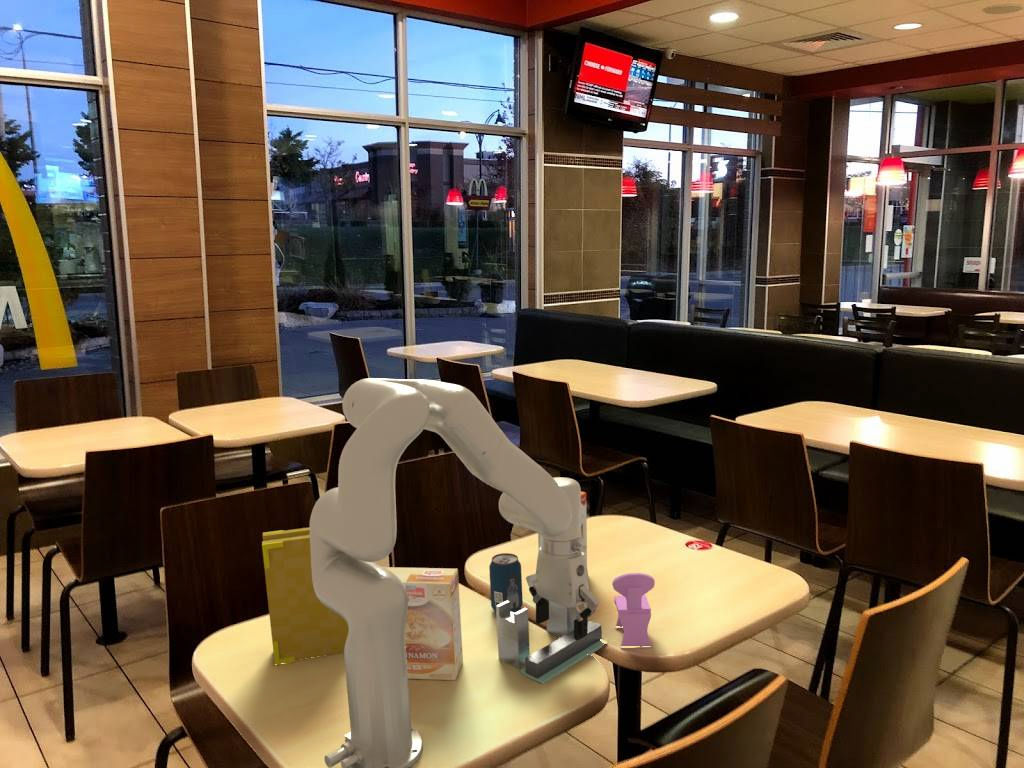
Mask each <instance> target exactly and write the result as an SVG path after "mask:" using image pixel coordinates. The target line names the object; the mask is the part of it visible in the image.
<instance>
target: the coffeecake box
mask: <svg viewBox="0 0 1024 768" xmlns="http://www.w3.org/2000/svg"><path fill="white" fill-rule="evenodd" d="M383 567H384V568H386V569H387V570H389V571H391V572H392V573H393V574H395V575H396V576H397V577H398V578H399V579H400V580H401V582H402V583H403V585H404V586H405V588H406V591H407V595H408V610H407V617H406V626H405V647H406V661H407V674H408V680H437V681H438V680H439V681H456V680H457V678H458V675H459V672H460V670H461V668H462V664H463V662H464V658H463V657H464V654H463V639H462V636H463V635H462V620H461V603H460V585H459V584H460V583H459V569H458V568H443V567H441V568H440V567H438V568H437V567H436V568H435V567H431V568H430V567H395V566H391V567H390V566H383Z"/></svg>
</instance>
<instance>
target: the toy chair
mask: <svg viewBox="0 0 1024 768" xmlns="http://www.w3.org/2000/svg"><path fill="white" fill-rule="evenodd" d="M655 583H656V582H655V578H654V577H653V576H651V575H649V574H646V573H643V572H632V573H630V572H629V573H625V574H624V573H623V574H620V575H618V576H617V577H614V579H613V580H612V583H611V585H612V588H613V590H614V591H615V592H616V593H618V595H614V596H613V597H614V600H613V601H614V604H615V606H616V610H617V615H618V617H617V620H616V624H615V626H620V627H622V626H623V629H622V630H623V638H622V641H621V643H620V646H640V647H642V646H652V647H653V645H652V643H651V640H650V638H649V633H648V628H649V624H650V620H651V617H652V612H651V611H652V609H651V608H652V607H651V605H650V604H649V601H648V598H647V595H646V594H647V593H648V592H650V591H652V590H653V589H654V588H655Z"/></svg>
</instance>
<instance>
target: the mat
mask: <svg viewBox="0 0 1024 768" xmlns="http://www.w3.org/2000/svg"><path fill="white" fill-rule="evenodd" d="M603 644H604V643H602V642H601V641H598V642H596V643H595V644H593V645H592V646H590V647H588V648H587V649H585V650H583V651H582V652H580V653H579V654H577V655H575V656H574V657H572V658H570V659H569V660H567V661H566V662H564V663H562V664H561V665H559V666H557V667H556V668H554V669H552V670H551V671H549V672H548V673H546V674H544V675H543V676H541V677H539V678H538V679H537V678H535V677H533V676H531V675H528V674H526V673H525V667H524V668H522V669H520V674H521V675H524V676H525V677H527V678H530V679H532V680H533V681H535V682H537V683H540V684H542V685H544V684H545V683H547V682H549V681H550V680H552V679H553V678H555V677H557V676H558V675H560V674H561V673H563V672H564V671H566V670H567V669H569V668H571V667H573V666H574V665H576V664H577V663H579V662H581V661H582V660H584V659H585V658H587V657H590V655H592V654H593V653H595V652H597V651H598V650H600V649H602V648H603V647H604V646H603ZM602 646H603V647H602ZM587 654H588V655H587Z"/></svg>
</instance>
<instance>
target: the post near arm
mask: <svg viewBox="0 0 1024 768" xmlns="http://www.w3.org/2000/svg"><path fill="white" fill-rule="evenodd" d="M495 614H496V633H497V636H496V637H497V650H498V651H497V652H498V653H497V654H498V659H499V660H501V661H504V662H505V663H508V664H509V665H511V666H513V667H515V668H517V669H520V668H522V667H525V658H526V657H528V656H530V655H531V654H530V653H531V652H530V651H531V650H530V648H531V647H530V624H529V609H528V608H527V607H523V608H521V609H520V610H519V611H517V612H515V613H514V612H511V611H510V601H508V600H507V601H505V602H503V603H501V604H499V605H497V606H496V613H495Z"/></svg>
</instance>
